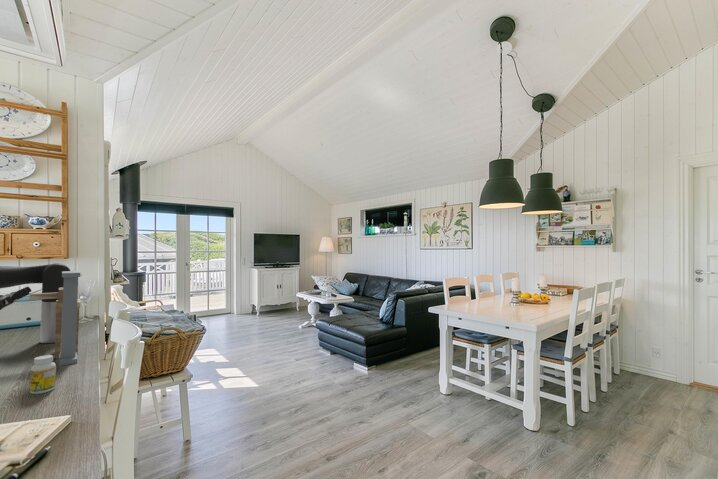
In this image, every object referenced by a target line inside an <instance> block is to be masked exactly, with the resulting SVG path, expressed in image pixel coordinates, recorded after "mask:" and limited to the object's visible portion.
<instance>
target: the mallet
mask: <svg viewBox="0 0 718 479" xmlns="http://www.w3.org/2000/svg"><path fill="white" fill-rule="evenodd" d="M28 297H29V298H28V299H29V301H34V300H36V301H37V300H42V299H54V298H58V303H63V287H61V288H59V292H56V293H42V292H41V293H39V292H38V293H29V295H28Z"/></svg>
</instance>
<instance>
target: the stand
mask: <svg viewBox="0 0 718 479" xmlns="http://www.w3.org/2000/svg"><path fill="white" fill-rule="evenodd" d="M62 277H64V284H63V310H62V337H61V352H60V354H59V358H58V363H57V364H58V367H59V366H60V367H61V366H66V365H72V364H78V355H77V352H76V326H77V299H79V298H78V294H79V293H78V292H79V278H80V277H81V270H73V271H72V270H70V271H62Z"/></svg>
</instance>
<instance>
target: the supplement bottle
mask: <svg viewBox="0 0 718 479" xmlns="http://www.w3.org/2000/svg"><path fill="white" fill-rule="evenodd" d="M33 363H34V364H33V365H32V367H31V368H30V382H29V385H30V386H29V393H30V394H33V395H39V394H45V393H48V392H51V391H53V390H54V389H55V388H56V376H57V375H56V373H57V372H56V370H57V368H56V367H57V365H56V363H55V362H54V355H51V354H47V355H40V356H36V357H34V359H33Z"/></svg>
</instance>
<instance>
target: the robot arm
mask: <svg viewBox="0 0 718 479" xmlns="http://www.w3.org/2000/svg"><path fill="white" fill-rule="evenodd" d="M62 271H71V269H70V268H69V267H68V266H67V265H66V264H63V263H51V264H44V265H43V264H42V265H34V266H14V265H13V266H10V265H9V266H8V265H1V266H0V289H7V288H11V287H16V286H18V287H19V286H23V285H29V284H30V285H32V284H41V285H42V286H41V293H56V292H59V288H61V287H63V284H64V277H62ZM31 292H32V289H31V288H30V286H25V287H23V288H21V289H18V290H17V291H12V292H10V293H7V294H4V295H1V296H0V311H1V310H3V309H5V308H7V307H9V306H11V305H12V304H14V303H15V302H17V301H18V300H20V299H22V298H25V297H26V296H29V294H30V293H31ZM56 300H58V298H54V299H41V306H40V308H41V311H40V312H41V313H40V314H41V315H40V332H39V333H40V335H39V337H40V338H39V342H40V343H41V344H51V343H53V344H54V343H55V330H56ZM62 310H63V309H62ZM61 337H62V329H61Z"/></svg>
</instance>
